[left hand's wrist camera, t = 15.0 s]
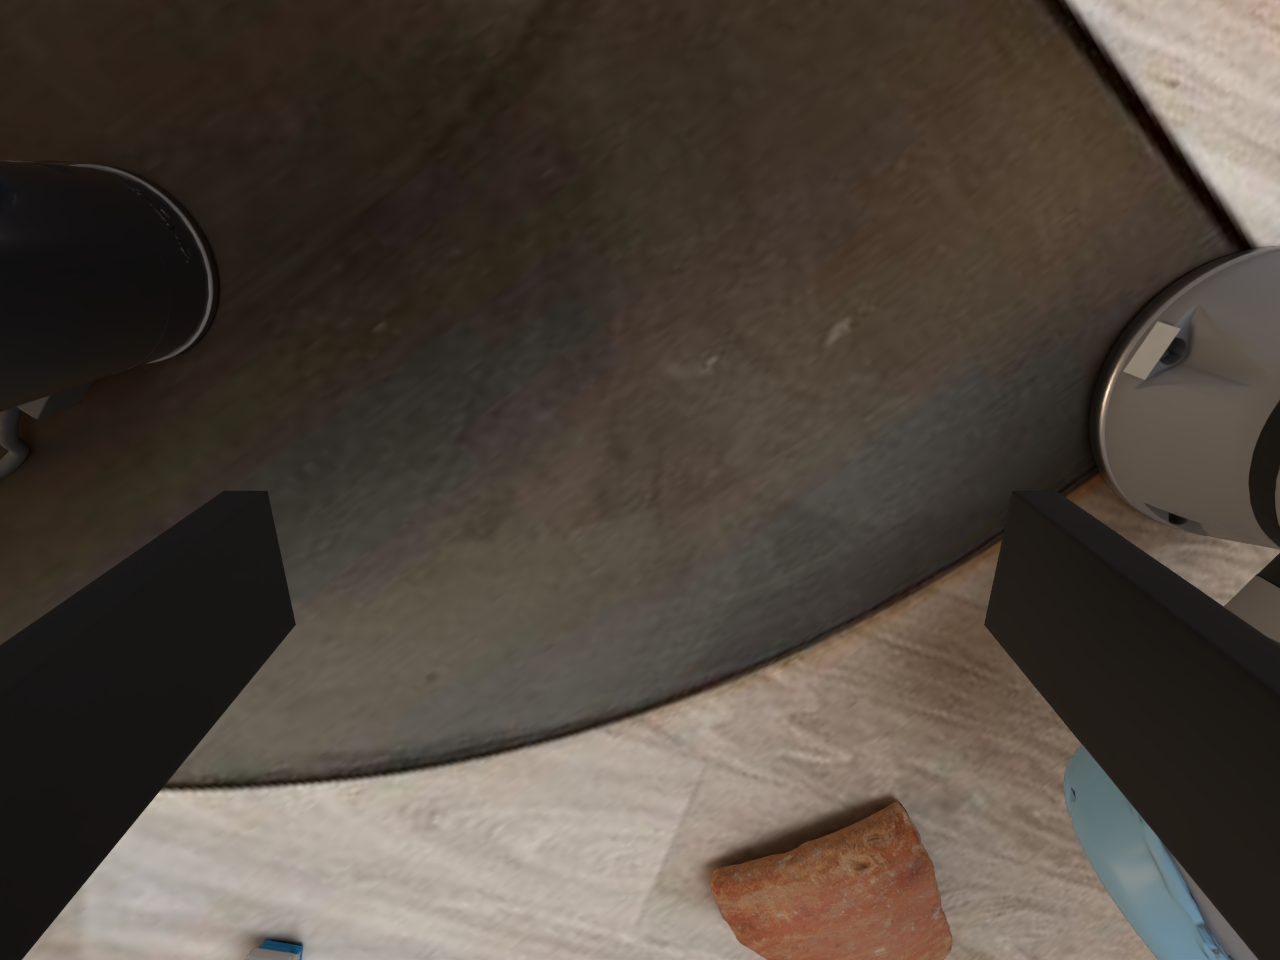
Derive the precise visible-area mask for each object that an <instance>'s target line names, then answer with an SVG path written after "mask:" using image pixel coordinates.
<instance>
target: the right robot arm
mask: <svg viewBox="0 0 1280 960" xmlns="http://www.w3.org/2000/svg"><path fill="white" fill-rule="evenodd" d="M28 162H71V161H0V444H1V446H3V447H4V448H5V449H7V450H8V453H7V454H6V455H5V456H4V457H3V458H2V459H0V479H1V478H3V477H5V476H7V475H8V474H10V473H11V472H13V471H14V470H15V469H16V468H17V467H19V466H20V465H21V464H22V462H23V461H24V460H25V459H26V457H27V455H28V454H29V448H28V445H27V444H26V443H25V442H24V441H23V440H21V439H20V438H19V437H18V424H19V418H20V414H21V410H23V411H24V412H26V413H27V414H29V415H31V416H32V417H34V418H35V419H40V418H43V417H45V416H48V415H51V414H53V413H56V412H59V411H62V410H64V409H67V408H70V407H72V406H75V405H78V404H81V402H82V401H83V399H84V397H85V395H86V393H87V392H88V390H89V388H90V386H91V384H92V383H93V381H95V380H98V379H101V378H104V377H107V376H110V375H113V374H116V373H120V372H123V371H126V370H129V369H132V368H135V367H138V366H141V365H143V364H146V363H154V362H158V361H162V360H165V359H168V358H171V357H174V356H177V355H179V354H181V353H183V352H185V351H186V350H188V349H189V348H191V347H192V346H193V345H195V344H196V343H197V342H198V341H199V340H200V339H201V338H202V337H203V335H204V334H205V333H206V331H207V330H208V328H209V326H210V324H211V323H212V320H213V318H214V315H215V312H216V308H217V303H218V293H219V284H218V274H217V269H216V264H215V260H214V257H213V254H212V251H211V249H210V247H209V244H208V242H207V240H206V238H205V236H204V234H203V233H202V231H201V229H200V228H199V226H198V225H197V223H196V222H195V220H194V219H193V218H192V216H191V215H190V214H189V213H188V212H187V210H186V209H185V208H184V207H183V206H182V205H181V204H180V203H179V202H178V201H177V200H176V199H175V198H174V197H172V196H171V195H170V194H169V193H168V192H166V191H165V190H164V189H162V188H161V187H159V186H158V185H157V184H155V183H153V182H152V181H150V180H148V179H146V178H144V177H142V176H140V175H138V174H136V173H133V172H130V171H128V170H124V169H121V168H117V167H112V166H105V165H91V164H77V165H70V166H66V165H52V164H41V163H28ZM80 163H85V162H80Z"/></svg>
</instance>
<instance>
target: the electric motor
mask: <svg viewBox="0 0 1280 960" xmlns="http://www.w3.org/2000/svg"><path fill="white" fill-rule="evenodd" d="M302 949H303V946H299V945H293V944H287V943H282V942H276V941H270V940H266V941H265V942H264V944H263V945H262V947H259V948H254V949H253V950H252V951H251V952H250V953H249V955H248V956H247V958H246V960H301V957H302Z"/></svg>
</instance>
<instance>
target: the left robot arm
mask: <svg viewBox="0 0 1280 960" xmlns="http://www.w3.org/2000/svg"><path fill="white" fill-rule="evenodd" d="M1089 436H1090V443H1091V449H1092V453H1093V457H1094V460H1095V463H1096V465H1097V467H1098V470H1099V472H1100V474H1101V475H1102V477H1103V479H1104V480H1105V482H1106V483H1107V484H1108V486H1109V487H1110V488H1111V489H1112V491H1113V492H1114V493H1116V494H1117V495H1118V496H1119V497H1120V498H1121V499H1122V500H1123V501H1125V502H1126V503H1127V504H1129V505H1130V506H1132V507H1134V508H1135V509H1137V510H1138V511H1140V512H1142V513H1143V514H1145V515H1147V516H1148V517H1150V518H1152V519H1154V520H1156V521H1158V522H1160V523H1163V524H1165V525H1168V526H1171V527H1174V528H1176V529H1179V530H1182V531H1185V532H1189V533H1194V534H1199V535H1205V536H1211V537H1215V538H1220V539H1226V540H1231V541H1237V542H1242V543H1248V544H1253V545H1259V546H1264V547H1270V548H1275V549H1280V246H1272V247H1261V248H1255V249H1250V250H1245V251H1241V252H1238V253H1234V254H1231V255H1227V256H1225V257H1222V258H1220V259H1217V260H1214V261H1212V262H1210V263H1208V264H1206V265H1204V266H1201V267H1199V268H1197V269H1196V270H1194V271H1192V272H1190V273H1189V274H1187V275H1185V276H1183V277H1182V278H1181V279H1179V280H1178V281H1176V282H1175V283H1173V284H1172V285H1170V286H1169V287H1168V288H1166V289H1165V290H1164V291H1163V292H1161V293H1160V294H1159V295H1158V296H1156V297H1155V298H1154V299H1153V300H1152V301H1151V302H1150V303H1149V304H1148V305H1147V306H1146V307H1145V308H1144V309H1143V310H1142V311H1141V312H1140V313H1139V314H1138V315H1137V316H1136V317H1135V318H1134V319H1133V321H1132V322H1131V323H1130V324H1129V326H1128V327H1127V328H1126V329H1125V331H1124V332H1123V333H1122V335H1121V336H1120V338H1119V339H1118V341H1117V342H1116V344H1115V345H1114V347H1113V348H1112V350H1111V352H1110V354H1109V355H1108V357H1107V359H1106V361H1105V363H1104V365H1103V368H1102V370H1101V372H1100V375H1099V377H1098V380H1097V383H1096V386H1095V389H1094V393H1093V397H1092V402H1091V408H1090V416H1089ZM295 625H296V624H295V619H294V614H293V610H292V605H291V600H290V596H289V591H288V586H287V581H286V577H285V572H284V567H283V562H282V558H281V553H280V548H279V544H278V539H277V534H276V529H275V525H274V520H273V515H272V511H271V506H270V501H269V496H268V492H267V491H223V492H222V493H220V494H219V495H217V496H216V497H215V498H213V499H212V500H210V501H209V502H207V503H206V504H204V505H203V506H201V507H200V508H199V509H197V510H196V511H194V512H193V513H191V514H190V515H188V516H187V517H186V518H184V519H183V520H181V521H180V522H178V523H177V524H175V525H174V526H173V527H171V528H170V529H168V530H167V531H165V532H164V533H162V534H161V535H160V536H158V537H157V538H155V539H154V540H152V541H151V542H149V543H148V544H146V545H145V546H144V547H142V548H141V549H139V550H138V551H136V552H135V553H133V554H132V555H131V556H129V557H128V558H126V559H125V560H123V561H122V562H120V563H119V564H118V565H116V566H115V567H113V568H112V569H110V570H109V571H107V572H106V573H104V574H103V575H102V576H100V577H99V578H97V579H96V580H94V581H93V582H91V583H90V584H89V585H87V586H86V587H84V588H83V589H81V590H80V591H78V592H77V593H76V594H74V595H73V596H71V597H70V598H68V599H67V600H65V601H64V602H62V603H61V604H60V605H58V606H57V607H55V608H54V609H52V610H51V611H49V612H48V613H47V614H45V615H44V616H42V617H41V618H39V619H38V620H36V621H35V622H34V623H32V624H31V625H29V626H28V627H26V628H25V629H23V630H22V631H21V632H19V633H18V634H16V635H15V636H13V637H12V638H10V639H9V640H7V641H6V642H5V643H3V644H2V645H0V960H22V959H23V958H24V956H25V955H26V954H27V953H28V952H29V950H30V949H31V948H32V947H33V945H34V944H35V943H36V942H37V941H38V939H39V938H40V937H41V936H42V934H43V933H44V932H45V931H46V929H47V928H48V927H49V926H50V925H51V923H52V922H53V921H54V920H55V918H56V917H57V916H58V915H59V914H60V912H61V911H62V910H63V909H64V907H65V906H66V905H67V904H68V903H69V901H70V900H71V899H72V898H73V896H74V895H75V894H76V893H77V892H78V890H79V889H80V888H81V887H82V885H83V884H84V883H85V882H86V881H87V879H88V878H89V877H90V876H91V874H92V873H93V872H94V871H95V870H96V868H97V867H98V866H99V865H100V863H101V862H102V861H103V860H104V859H105V857H106V856H107V855H108V854H109V852H110V851H111V850H112V849H113V848H114V846H115V845H116V844H117V843H118V841H119V840H120V839H121V838H122V837H123V835H124V834H125V833H126V832H127V830H128V829H129V828H130V827H131V826H132V824H133V823H134V822H135V821H136V819H137V818H138V817H139V816H140V815H141V813H142V812H143V811H144V810H145V808H146V807H147V806H148V805H149V804H150V802H151V801H152V800H153V799H154V797H155V796H156V795H157V794H158V793H159V791H160V790H161V789H162V788H163V786H164V785H165V784H166V783H167V782H168V780H169V779H170V778H171V777H172V775H173V774H174V773H175V772H176V771H177V769H178V768H179V767H180V766H181V764H182V763H183V762H184V761H185V759H186V758H187V757H188V756H189V755H190V753H191V752H192V751H193V750H194V748H195V747H196V746H197V745H198V744H199V742H200V741H201V740H202V739H203V737H204V736H205V735H206V734H207V733H208V731H209V730H210V729H211V728H212V726H213V725H214V724H215V723H216V722H217V720H218V719H219V718H220V717H221V715H222V714H223V713H224V712H225V711H226V709H227V708H228V707H229V706H230V704H231V703H232V702H233V701H234V700H235V698H236V697H237V696H238V695H239V693H240V692H241V691H242V690H243V689H244V687H245V686H246V685H247V684H248V682H249V681H250V680H251V679H252V678H253V676H254V675H255V674H256V673H257V671H258V670H259V669H260V668H261V667H262V665H263V664H264V663H265V662H266V660H267V659H268V658H269V657H270V656H271V654H272V653H273V652H274V651H275V649H276V648H277V647H278V646H279V645H280V643H281V642H282V641H283V640H284V638H285V637H286V636H287V635H288V634H289V632H290V631H291V630H292V629H293V627H294V626H295ZM984 625H985V626H986V627H987V629H988V630H989V631H990V632H991V634H992V635H993V636H994V637H995V638H996V640H997V641H998V642H999V643H1000V645H1001V646H1002V647H1003V648H1004V649H1005V651H1006V652H1007V653H1008V654H1009V656H1010V657H1011V658H1012V659H1013V660H1014V662H1015V663H1016V664H1017V665H1018V667H1019V668H1020V669H1021V670H1022V671H1023V673H1024V674H1025V675H1026V676H1027V678H1028V679H1029V680H1030V681H1031V682H1032V684H1033V685H1034V686H1035V687H1036V689H1037V690H1038V691H1039V692H1040V693H1041V695H1042V696H1043V697H1044V698H1045V700H1046V701H1047V702H1048V703H1049V704H1050V706H1051V707H1052V708H1053V709H1054V711H1055V712H1056V713H1057V714H1058V715H1059V717H1060V718H1061V719H1062V720H1063V722H1064V723H1065V724H1066V725H1067V726H1068V728H1069V729H1070V730H1071V731H1072V733H1073V734H1074V735H1075V736H1076V737H1077V739H1078V740H1079V741H1080V742H1081V744H1082V746H1081V747H1080V748H1079V749H1078V750H1077V751H1076V752H1075V753H1074V755H1073V756H1072V757H1071V759H1070V761H1069V763H1068V765H1067V768H1066V771H1065V775H1064V795H1065V803H1066V806H1067V809H1068V812H1069V814H1070V817H1071V819H1072V823H1073V829H1074V831H1075V833H1076V836H1077V838H1078V840H1079V842H1080V844H1081V846H1082V849H1083V851H1084V853H1085V854H1086V856H1087V858H1088V860H1089V862H1090V864H1091V865H1092V867H1093V869H1094V871H1095V872H1096V874H1097V876H1098V877H1099V879H1100V881H1101V882H1102V884H1103V885H1104V887H1105V888H1106V890H1107V892H1108V893H1109V895H1110V896H1111V898H1112V899H1113V901H1114V902H1115V904H1116V905H1117V907H1118V908H1119V909H1120V911H1121V912H1122V914H1123V915H1124V917H1125V918H1126V919H1127V921H1128V922H1129V923H1130V925H1131V926H1132V927H1133V929H1134V930H1135V931H1136V933H1137V934H1138V935H1139V937H1140V938H1141V939H1142V940H1143V942H1144V943H1145V944H1146V945H1147V947H1148V948H1149V949H1150V951H1151V952H1152V953H1153V954H1154V955H1155V957H1156V958H1157V959H1158V960H1280V553H1279V554H1278V555H1277V556H1276V557H1275V558H1274V559H1273V560H1272V561H1271V562H1270V563H1269V564H1268V565H1267V566H1266V567H1265V568H1264V569H1263V570H1262V571H1261V572H1260V573H1258V574H1257V575H1256V576H1255V577H1254V578H1253V579H1252V580H1251V581H1250V582H1249V583H1248V584H1247V585H1246V586H1245V587H1244V588H1243V589H1242V590H1241V591H1240V592H1239V593H1238V594H1237V595H1235V596H1234V597H1233V598H1232V599H1231V600H1230V601H1229V602H1228V603H1227V604H1226V605H1225V606H1224V607H1223V606H1222V605H1220V604H1219V603H1218V602H1216V601H1215V600H1213V599H1212V598H1210V597H1209V596H1207V595H1206V594H1204V593H1203V592H1202V591H1200V590H1199V589H1197V588H1196V587H1194V586H1193V585H1191V584H1190V583H1189V582H1187V581H1186V580H1184V579H1183V578H1181V577H1180V576H1178V575H1177V574H1176V573H1174V572H1173V571H1171V570H1170V569H1168V568H1167V567H1165V566H1164V565H1162V564H1161V563H1160V562H1158V561H1157V560H1155V559H1154V558H1152V557H1151V556H1149V555H1148V554H1147V553H1145V552H1144V551H1142V550H1141V549H1139V548H1138V547H1136V546H1135V545H1134V544H1132V543H1131V542H1129V541H1128V540H1126V539H1125V538H1123V537H1122V536H1120V535H1119V534H1118V533H1116V532H1115V531H1113V530H1112V529H1110V528H1109V527H1107V526H1106V525H1105V524H1103V523H1102V522H1100V521H1099V520H1097V519H1096V518H1094V517H1093V516H1092V515H1090V514H1089V513H1087V512H1086V511H1084V510H1083V509H1081V508H1080V507H1079V506H1077V505H1076V504H1074V503H1073V502H1071V501H1070V500H1068V499H1067V498H1065V497H1064V496H1063V495H1061V494H1060V493H1058V492H1057V491H1013V492H1012V496H1011V501H1010V506H1009V511H1008V515H1007V520H1006V525H1005V529H1004V534H1003V539H1002V544H1001V548H1000V553H999V558H998V562H997V567H996V572H995V577H994V581H993V586H992V591H991V596H990V600H989V605H988V610H987V614H986V619H985V624H984Z"/></svg>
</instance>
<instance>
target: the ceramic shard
mask: <svg viewBox="0 0 1280 960" xmlns="http://www.w3.org/2000/svg"><path fill="white" fill-rule="evenodd" d="M711 890H712V893H713V895H714V898H715V901H716V903H717V905H718V908H719V910H720V913H721V915H722V917H723V919H724V920H725V921H726V922H727V923H728V924H729V926H730V927H731V929H732V931H733V932H734V934H735V936H736V938H737V940H738V941H739V942H740V943H741V944H743V945H744V946H746V947H748V948H750V949H751V950H753V951H755V952H756V953H757V954H759V955H760V956H762V957H764V958H765V959H767V960H944V959H945V958H946V956H947V955H948V953H949V952H950V951H951V948H952V935H951V932H950V927H949V925H948V923H947V919H946V916H945V913H944V912H943V910H942V908H941V899H940V895H939V892H938V887H937V882H936V878H935V873H934V867H933V863H932V861H931V859H930V857H929V855H928V853H927V852H926V850H925V848H924V846H923V845H922V843H921V839H920V835H919V833H918V831H917V829H916V827H915V826H914V824H913V823H912V821H911V820H910V818H909V816H908V814H907V811H906V810H905V808H904V807H903V806H902V804H901V803H900V802H899V801H897V802H894V803H892V804H891V805H889V806H888V807H886V808H884V809H882V810H880V811H878V812H877V813H875V814H873V815H871V816H869V817H867V818H865V819H863V820H861V821H859V822H857V823H855V824H852V825H850V826H848V827H846V828H843V829H841V830H839V831H836V832H834V833H831V834H829V835H826V836H823V837H821V838H818V839H815V840H811V841H808V842H805V843H803V844H801V845H800V846H799V847H798V848H796V849H794V850H791V851H789V852H786V853H782V854H774V855H770V856H766V857H763V858H760V859H755V860H751V861H747V862H744V863H742V864H737V865H730V866H725V867H719V868H717V869H716V870H715V871H714V872H713V876H712V880H711Z"/></svg>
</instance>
